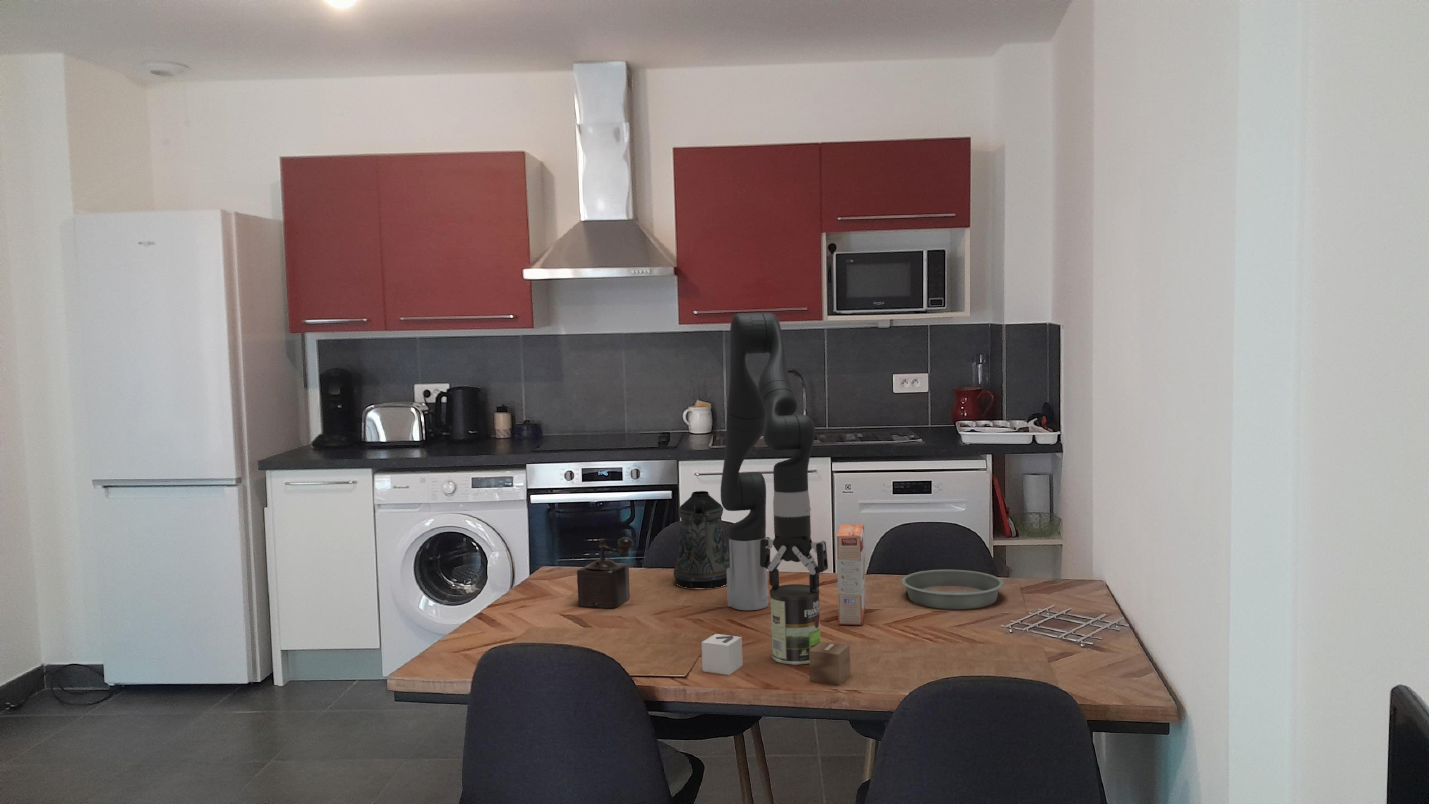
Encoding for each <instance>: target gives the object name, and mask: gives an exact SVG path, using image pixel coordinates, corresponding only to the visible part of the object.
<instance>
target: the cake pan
mask: <svg viewBox="0 0 1429 804" xmlns="http://www.w3.org/2000/svg"><path fill="white" fill-rule="evenodd" d="M901 583H902V585H903V586H905V588H906V592H907V595H908V598H909V600H910V601H911V602H913V603H915V604H917V605H920V606H924V607H928V608H935V609H943V610H970V609H978V608H979V609H980V608H984V607H987V606H990V605H992V604H994V603H996V602H997V598H998V594H999V590H1000V589H1002V588H1003V586H1004V581H1003V580H1002V579H1001V578H1000V577H998V576H995V575H992V574H989V573H985V572H981V571H974V570H965V569H964V570H963V569H931V570H921V571H917V572H913V573H910V574H907V575H905V576H904V577H902V579H901ZM947 587H948V588H949V587H951V588H952V587H953V588H956V587H957V588H965V589H966V588H967V589H973V590H955V591H953V590H952V591H951V590H933V589H932V588H947Z"/></svg>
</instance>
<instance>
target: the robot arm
mask: <svg viewBox="0 0 1429 804" xmlns="http://www.w3.org/2000/svg"><path fill="white" fill-rule="evenodd" d="M782 334H783V333H782V327H781V323H780V321H779V319H778V317H777V315H776V314H774V313H772V312H745V313H744V312H741V313H735V314H734V315H733V317H732V319H731V322H730V329H729V385H728V397H727V406H726V428H725V430H726V431H725V433H726V434H725V451H724V452H725V453H724V459H723V466H722V467H723V468H722V473H721V480H720V481H721V482H720V502H721V506H722V507H723V510H726V511H730V512H739V511H740V512H741V511H749V513H748V514H747V515H746V516H745V517H744V518H742V519H741V520H739V521H737V522H734V523H732V524H730V526H729V527H728V554H729V561H730V567H729V568H727V586H726V593H727V594H726V596H727V597H726V598H727V607H729V608H732V609H735V610H739V611H756V610H757V611H758V610H763V609H765V608H767V607H769V591H768V589H769V588H768V587H769V586H770V587H771V589H776V588H778V587H779V586H780V573H779V572H780V571H779V569H778V568H779V566H780V564H781V563H782V562H783V561H784V562H794V563H799V562H801V564H802V565H803V566H804V567H806V569H807V570H808V572H809V578H808V579H809V580H808V581H809V585H810V592H812V593H814V592H816V591H817V589H819V588H820V573H823V572H825V571H826V570H828V569H829V561H828V553H827V552H828V551H827V542H826V541H824V540H821V541H819V542H818V541H813V540H812V538H811V534H812V530H811V529H812V528H811V527H812V525H811V510H812V509H811V501H810V495H809V494H810V493H809V480H808V479H809V474H808V471H809V470H808V469H809V463H810V457H811V453H812V449H813V445H814V441H815V436H816V428H815V423H814V421H813V419H812V418H811V417H810V416H808V415H807V414H795V413H796V411H797V409H798V402H797V401H798V400H797V398H796V396H795V393H794V392H795V391H794V389H793V386H792V383H791V380H790V377H789V371H788V366H787V358H786V352H785V351H786V350H785V346H784V339H783V335H782ZM748 354H750V355H751V354H769V359H768V360H767V363H766V365H765V366H764V369H763V370H762V372H761V374H760V377H759V379H758V385H757V384H756V382H755V380H754V379H753V377H752V376H751V374H750V371H749V369H748V367H747V363H746V357H747V355H748ZM762 436H763V440H764V444H765V445H766V446H767V447H768V448H770V449H771V450H773V451H784V450H785V451H789V450H795V451H794V453H793V456H792V457H790V458H788V459H785V460H781V461H779V462H776V463H775V464H774V466H773V468H772V469H773V499H772V501H773V502H772V507H773V533H774V538H770V537H769V536H767V533H766V531H767V529H766V528H767V517H766V516H767V515H766V514H767V513H766V511H767V508H766V506H767V485H766V481H765V477H764V475H763V474H762V473H761V472H758V471H750V472H740V470H741V467H742V464H743V462H744V461H745V459H746V457H747V456H748V454H749V453H750V452H751V451H752V450H753V448H754V447H755V446H756V444H757V443H758V442H759V441H760V439H761V438H762ZM772 548H775V550H776V552H777V553H776V554H775V555H774V556H773V558H772V560H771V549H772ZM812 549H813V550H814V553H816V559H817V562H816V560H815V558H814V556H813V554H812V553H811V551H812ZM768 581H769V582H768ZM768 583H769V586H768Z"/></svg>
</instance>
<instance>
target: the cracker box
mask: <svg viewBox="0 0 1429 804" xmlns="http://www.w3.org/2000/svg"><path fill="white" fill-rule="evenodd" d="M865 549H866V548H865V525H864V524H857V523H856V524H845V523H844V524H840V527H839V530H838V533H837V535H836V557H837V558H836V559H837V560H836V563H837V571H836V572H837V615H838V616H837V621H838V622H837V623H838V625H843V626H844V625H846V626H863V623H864V622H863V621H864V619H865V618H864V617H865V611H866V557H865V555H866V553H865Z"/></svg>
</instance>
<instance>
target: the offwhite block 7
mask: <svg viewBox="0 0 1429 804" xmlns="http://www.w3.org/2000/svg"><path fill="white" fill-rule="evenodd" d="M701 661H702V663H701V664H702V665H701V666H702V672H706V673H713V674H718V675H719V674H721V675H726V676H730V675H731V674H733V673H734V672H736V671H738V670H739V669H740V668H741V667H743V666H744V664H743V662H744V660H743V637H742V636H736V635H729V634H728V635H727V634H721V633H720V634H719V633H715V634H713V635H711V636H710V637H709V636H708V638H706V639H704V640H703V641H701Z"/></svg>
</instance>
